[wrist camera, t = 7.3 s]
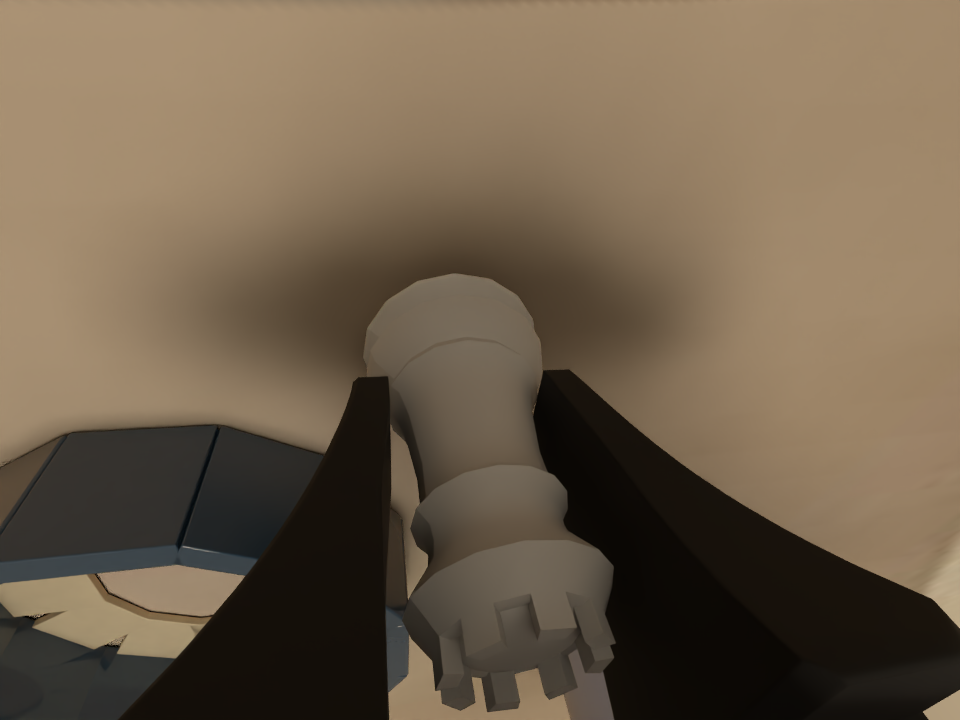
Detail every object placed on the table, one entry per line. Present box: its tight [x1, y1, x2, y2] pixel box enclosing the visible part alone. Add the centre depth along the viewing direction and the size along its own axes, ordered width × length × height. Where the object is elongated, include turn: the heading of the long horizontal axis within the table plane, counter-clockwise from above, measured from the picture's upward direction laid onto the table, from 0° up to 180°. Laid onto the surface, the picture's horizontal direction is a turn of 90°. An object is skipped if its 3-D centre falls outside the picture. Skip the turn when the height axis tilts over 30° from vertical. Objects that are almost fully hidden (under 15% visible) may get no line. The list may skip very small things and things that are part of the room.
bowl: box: [0, 425, 409, 720], centre depth 17 cm, size 15×15×4 cm
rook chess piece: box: [363, 273, 616, 712], centre depth 10 cm, size 4×4×8 cm
